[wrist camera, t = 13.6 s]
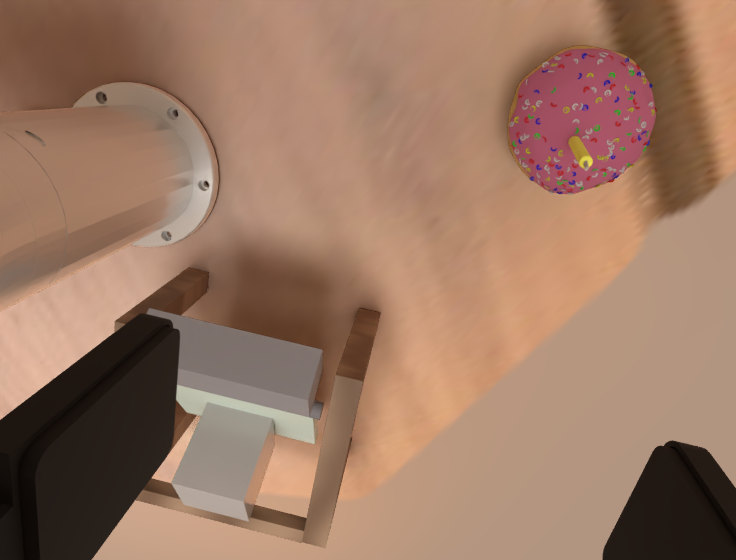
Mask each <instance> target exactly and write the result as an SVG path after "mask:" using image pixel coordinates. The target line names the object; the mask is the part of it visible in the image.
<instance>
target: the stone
mask: <svg viewBox="0 0 736 560" xmlns="http://www.w3.org/2000/svg"><path fill="white" fill-rule="evenodd" d="M274 446H275V438H274V427H273V418H269V417H265V416H261V415H257V414H253V413H249V412H245V411H241V410H237V409H233V408H229V407H225V406H221V405H217V404H213V403H209V402H207V405H206V407H205V409H204V411H203V414H202V416H201V418H200V420H199V422H198V425H197V427H196V429H195V431H194V434H193V436H192V438H191V440H190V442H189V445H188V447H187V449H186V451H185V454H184V456H183V458H182V460H181V463H180V465H179V467H178V469H177V471H176V474H175V476H174V478H173V480H172V483H171V484H172V485H173V487H174V489H175V490H176V492H177V494H178V496H179V497H180V499H181V501H182V502H183V504H184V505H186V506H190V507H194V508H198V509H202V510H206V511H210V512H213V513H217V514H221V515H225V516H229V517H233V518H237V519H241V520H244V521H248V522H249V520H250V517H251V514H252V511H253V508H254V505H255V502H256V499H257V496H258V493H259V490H260V487H261V484H262V481H263V479H264V476H265V473H266V470H267V467H268V464H269V461H270V458H271V455H272V452H273V449H274Z"/></svg>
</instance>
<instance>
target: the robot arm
mask: <svg viewBox="0 0 736 560" xmlns="http://www.w3.org/2000/svg"><path fill="white" fill-rule="evenodd" d="M106 96H107V99H106ZM176 110H177V111H178V116H177V115H176ZM206 181H207V182H208V183H209V186H207V184H206ZM218 184H219V176H218V164H217V160H216V155H215V151H214V148H213V146H212V144H211V141H210V139H209V136H208V134H207V133H206V131H205V129H204V128H203V126H202V125H201V123H200V122H199V120H198V119H197V118H196V117H195V116H194V114H193V113H192V112H191V111H190V110H189V109H188V108H187V107H186V106H185V105H184V104H182V103H181V102H180V101H179V100H177V99H176V98H175V97H174V96H172V95H170V94H168V93H166V92H165V91H163V90H161V89H159V88H156V87H153V86H150V85H147V84H142V83H133V82H114V83H109V84H105V85H101V86H98V87H96V88H94V89H92V90H90V91H88V92H87V93H86V94H84V95H83V96H82V97H81V98H80V99H78V100H77V101H76V102H75V104H74V105H73V107H72V108H59V109H44V110H28V111H12V112H0V312H1V311H3V310H5V309H7V308H8V307H10V306H12V305H14V304H16V303H18V302H20V301H22V300H24V299H26V298H27V297H29V296H31V295H33V294H35V293H38V292H40V291H42V290H43V289H45V288H47V287H49V286H51V285H53V284H55V283H57V282H59V281H61V280H63V279H65V278H67V277H69V276H71V275H72V274H74V273H76V272H78V271H80V270H82V269H84V268H86V267H88V266H90V265H92V264H94V263H96V262H98V261H99V260H101V259H103V258H105V257H107V256H109V255H111V254H113V253H115V252H117V251H119V250H121V249H123V248H125V247H126V246H128V245H133V246H139V247H146V248H154V247H164V246H168V245H171V244H175V243H177V242H179V241H181V240H183V239H185V238H187V237H188V236H189V235H191V234H192V233H194V232H195V231H197V229H198V228H199V227H200V226H201V225H202V224H203V223H204V222H205V221H206V219H207V218H208V216H209V214H210V213H211V211H212V209H213V206H214V203H215V200H216V197H217V191H218ZM169 232H170V233H171V235H170V233H169ZM179 349H180V331H179V330H178V329H175V328H173V323H172V321H171V320H170V319H165V318H161V317H157V316H153V315H149V314H145V313H140V314H139V315H137V316H136V317H134V318H133V319H132V320H130V321H129V322H128V323H126V324H125V325H124V326H122V327H121V328H120V329H119V330H117V331H116V332H115V333H113V334H112V335H111V336H109V337H108V338H107V339H105V340H104V341H103V342H102V343H100V344H99V345H98V346H96V347H95V348H94V349H92V350H91V351H90V352H88V353H87V354H86V355H85V356H83V357H82V358H81V359H79V360H78V361H77V362H75V363H74V364H73V365H71V366H70V367H69V368H68V369H66V370H65V371H64V372H62V373H61V374H60V375H58V376H57V377H56V378H55V379H53V380H52V381H51V382H49V383H48V384H47V385H45V386H44V387H43V388H41V389H40V390H39V391H38V392H36V393H35V394H34V395H32V396H31V397H30V398H28V399H27V400H26V401H24V402H23V403H22V404H21V405H19V406H18V407H17V408H15V409H14V410H13V411H11V412H10V413H9V414H7V415H6V416H5V417H4V418H2V419H1V420H0V560H91V559H92V558H93V557H94V556H95V554H96V553H97V552H98V550H99V549H100V547H101V546H102V545H103V543H104V542H105V541H106V539H107V538H108V536H109V535H110V534H111V532H112V531H113V529H114V528H115V527H116V526H117V524H118V523H119V521H120V520H121V519H122V517H123V516H124V514H125V513H126V512H127V510H128V509H129V508H130V506H131V505H132V504H133V502H134V501H135V500H136V498H137V497H138V495H139V494H140V493H141V491H142V490H143V489H144V487H145V486H146V484H147V483H148V482H149V480H150V479H151V478H152V476H153V475H154V474H155V472H156V471H157V469H158V468H159V467H160V465H161V464H162V463H163V461H164V460H165V458H166V457H167V455H168V454H169V451H170V449H171V447H172V443H173V438H174V425H175V409H176V394H177V379H178V364H179ZM603 560H736V488H735V487H734V485H733V484H732V483H731V481H730V480H729V478H728V477H727V476H726V474H725V473H724V472H723V471H722V469H721V467H720V466H719V465H718V463H717V462H716V461H715V459H714V458H713V457H712V455H711V454H710V453H709V452H708V451H707V450H706V449H704V448H702V447H698V446H693V445H689V444H685V443H681V442H676V441H669V442H667V443H666V444H665V445H664V446H658V447H656V448H655V449H654V451H653V452H652V454H651V456H650V458H649V460H648V462H647V464H646V466H645V468H644V470H643V472H642V474H641V476H640V478H639V480H638V482H637V484H636V486H635V488H634V490H633V492H632V494H631V496H630V498H629V500H628V502H627V504H626V506H625V507H624V510H623V511H622V513H621V515H620V517H619V519H618V521H617V523H616V525H615V528H614V529H613V531H612V533H611V535H610V537H609V539H608V541H607V543H606V545H605V547H604V551H603Z"/></svg>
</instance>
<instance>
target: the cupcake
mask: <svg viewBox="0 0 736 560" xmlns="http://www.w3.org/2000/svg"><path fill="white" fill-rule="evenodd" d="M644 74H645V73H644V72H643V71H641V69H640V67H639V66H638V65H637V64H636V63H635V62H634V61H633V60H631V59H630V58H629V57H627V56H625V55H623V54H620V53H617V52H614V51H610V50H606V49H602V48H597V47H592V46H573V47H569V48H566V49H563V50H561V51H559V52H558V53H556V54H554V55H553V56H552V57H550V58H549V59H548V60H546V61H545V62H544V63H542V64H541V65H540V66H538V67H537V68H536V69H534V70H533V71H532V72H531V73H530V74H528V75H527V76H526V77H525V78H524V79H523V80H522V81H521V82H520V83H519V85H518V87H517V90H516V93H515V96H514V99H513V102H512V105H511V109H510V114H509V119H508V142H509V147H510V150H511V153H512V155H513V157H514V159H515V161H516V162H517V164H518V166H519V167H520V169H521V170H522V171H523V172H524V173H525V174H526V175H527V176H528V177H529V178H530V180H532V181H534V182H536V183H537V184H539V185H540V186H541V187H543V188H544V189H546V190H548V191H549V192H550V193H558V194H574V193H578V192H581V191H584V190H587V189H590V188H593V187H599V186H600V185H602V184H605V183H607V182H613V181H614V179H615V178H617V177H618V176H619V175H620V174H622V173H624V171H625V170H626V169H627V168H629V167H632V166H634V165H632V164H633V163H635V162H636V161H637V160H638V159H639V157H640V156H641V154H642V152H643V151H645V149H646V146H647V145H649V143H650V141H649V138H650V135H651V132H652V129H653V126H654V123H655V117H656V112H655V111H657V110H656V108H655V105H654V99H653V93H652V89H651V87H652V84H650V83H649V82H648V80H647V78H646V77H645V75H644Z"/></svg>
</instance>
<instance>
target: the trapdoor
mask: <svg viewBox="0 0 736 560" xmlns="http://www.w3.org/2000/svg"><path fill="white" fill-rule="evenodd" d="M147 314H149V315H153V316H157V317H161V318H165V319H170V320H171V321H172V323H173V328H175V329H178V330H179V331H180V349H179V364H178V379H177V394H176V400H177V402H178V403H179V404H180V405H181V406H182V407H183V409H184V410H185V411H186V412H187V413H191V414H195V415H199V416H202V414H203V411H204V409H205V407H206V405H207V402H209V403H213V404H217V405H221V406H225V407H229V408H233V409H237V410H241V411H245V412H249V413H253V414H257V415H261V416H265V417H269V418H273V427H274V434H276V435H280V436H284V437H288V438H292V439H296V440H300V441H304V442H308V443H312V444H315V442H316V439H317V435H318V433H317V419H318V420H320V417H321V414H322V410H323V405H324V402H322V401H318V400H314V399H315V396H316V392H317V389H318V385H319V382H320V378H321V375H322V371H323V350H322V349H318V348H313V347H309V346H305V345H301V344H297V343H293V342H288V341H284V340H280V339H276V338H272V337H268V336H263V335H259V334H255V333H251V332H247V331H243V330H238V329H234V328H230V327H226V326H222V325H218V324H213V323H209V322H205V321H201V320H197V319H193V318H188V317H184V316H180V315H176V314H172V313H167V312H163V311H159V310H155V309H151V308H149V310H148V312H147Z"/></svg>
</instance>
